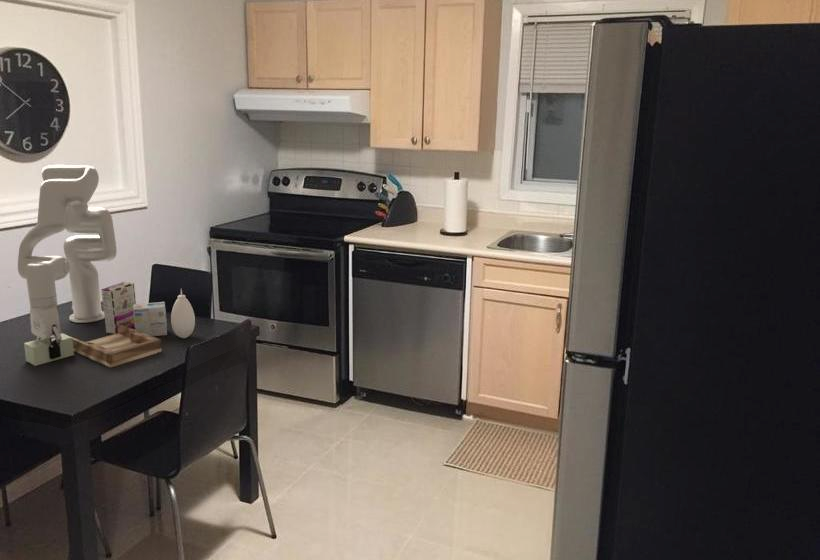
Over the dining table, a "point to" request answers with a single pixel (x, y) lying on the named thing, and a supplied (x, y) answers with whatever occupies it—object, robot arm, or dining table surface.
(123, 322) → the candy bar box
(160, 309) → the light bulb box
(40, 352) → the cream rectangular block
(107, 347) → the wooden tray
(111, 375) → the dining table surface
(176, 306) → the white air blower bulb
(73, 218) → the robot arm
